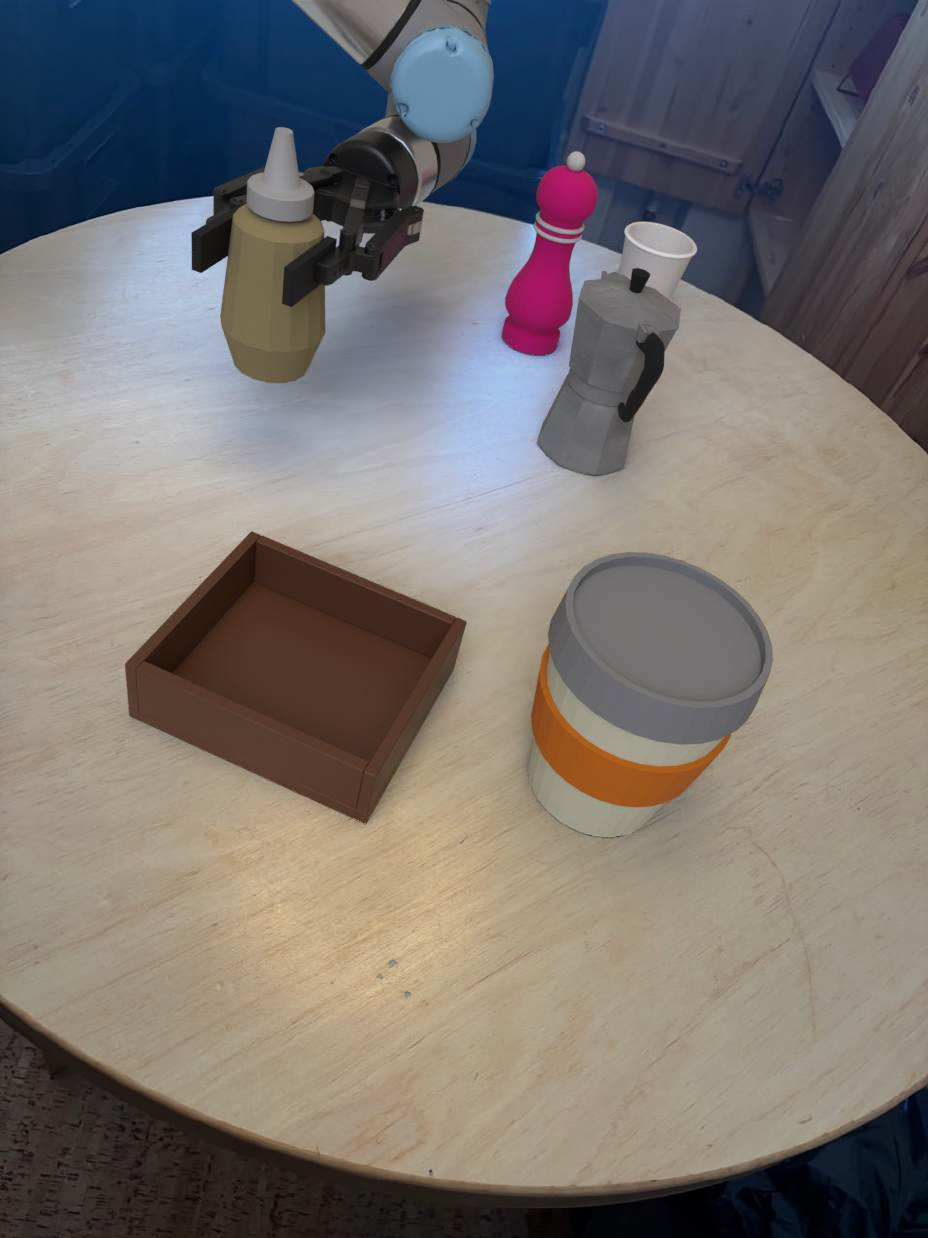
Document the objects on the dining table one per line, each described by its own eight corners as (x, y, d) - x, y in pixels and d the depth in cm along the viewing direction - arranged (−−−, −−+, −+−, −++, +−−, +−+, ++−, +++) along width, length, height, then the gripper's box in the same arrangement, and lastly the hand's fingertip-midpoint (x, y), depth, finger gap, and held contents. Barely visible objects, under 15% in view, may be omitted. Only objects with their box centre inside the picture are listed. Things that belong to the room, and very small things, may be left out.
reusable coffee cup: (715, 847, 61) (819, 699, 51) (537, 878, 57) (612, 725, 47) (638, 697, 69) (715, 544, 59) (477, 716, 65) (529, 553, 55)
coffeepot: (521, 405, 95) (569, 227, 82) (609, 411, 97) (669, 240, 84) (556, 503, 84) (618, 318, 72) (654, 508, 87) (730, 329, 74)
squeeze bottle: (199, 370, 74) (198, 127, 62) (250, 328, 80) (259, 98, 67) (293, 405, 73) (311, 165, 61) (338, 360, 79) (363, 133, 66)
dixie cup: (585, 309, 112) (610, 226, 105) (629, 296, 117) (656, 216, 110) (638, 344, 109) (667, 260, 102) (681, 329, 113) (712, 248, 107)
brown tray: (128, 716, 60) (124, 663, 56) (249, 581, 70) (251, 530, 67) (365, 824, 58) (375, 777, 54) (453, 669, 68) (467, 620, 64)
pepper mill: (500, 317, 107) (544, 130, 93) (562, 333, 107) (616, 148, 93) (493, 348, 101) (538, 155, 88) (558, 364, 102) (614, 174, 88)
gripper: (473, 254, 84) (361, 365, 67) (277, 184, 86) (123, 274, 70) (491, 167, 78) (375, 264, 62) (281, 95, 81) (116, 170, 65)
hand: (242, 269), depth 66 cm, fingers closed on squeeze bottle, 6 cm apart
